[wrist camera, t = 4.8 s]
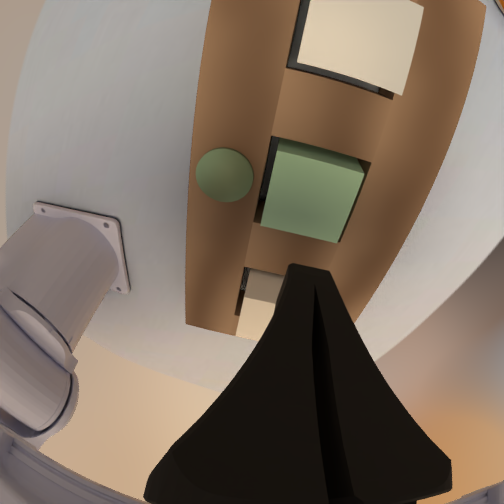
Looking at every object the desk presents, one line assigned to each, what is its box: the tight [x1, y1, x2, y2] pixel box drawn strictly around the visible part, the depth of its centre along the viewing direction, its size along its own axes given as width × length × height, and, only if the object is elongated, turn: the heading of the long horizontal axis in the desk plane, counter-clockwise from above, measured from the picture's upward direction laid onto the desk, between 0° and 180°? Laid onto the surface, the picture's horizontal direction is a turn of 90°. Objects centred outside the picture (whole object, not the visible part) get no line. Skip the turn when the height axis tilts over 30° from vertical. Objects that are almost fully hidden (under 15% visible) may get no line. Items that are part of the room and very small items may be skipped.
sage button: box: [260, 137, 364, 243], centre depth 14 cm, size 4×4×3 cm
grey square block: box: [297, 0, 424, 96], centre depth 8 cm, size 4×4×3 cm
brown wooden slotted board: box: [185, 0, 486, 336], centre depth 15 cm, size 12×26×3 cm, turn 170°
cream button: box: [235, 268, 285, 341], centre depth 18 cm, size 4×4×3 cm
